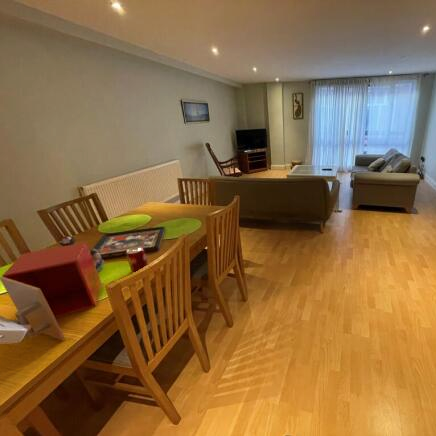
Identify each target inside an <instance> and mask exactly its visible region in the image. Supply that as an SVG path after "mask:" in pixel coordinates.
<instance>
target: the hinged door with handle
mask: <svg viewBox="0 0 436 436" xmlns="http://www.w3.org/2000/svg"><path fill="white" fill-rule="evenodd" d="M0 282H1V284H2V285H3V287H4V289H5V291H6V293H7V295H8V296H9V298H10V300H11V301H12V303H13V305H14V307H15V308H16V310H17V311H16V312H15V313H14V315H15V317H16V318H17V321H19V322H20V324H21V325H22V324H30V325H31V328H30V330H29V331H27V332H26V334H25V335H26V336H27V338H28V339H29V340H31V339H34V338H36V337H37V336H39V335H41V334H44V335H46V336H49V337H52V338H54V339H57V340H59V341H61V342H64V341H66V337H65V335H64V333H63V331H62V329H61V327H60V325H59V323H58V321H57V319H56V317H54V315H53V313H52V311H51V309H50V307H49V305H48V303H47V301H46V299H45V297H44V295H43V293H42V291H41V289H40V288H36V287H33V286H30V285H27V284H24V283H21V282H18V281H15V280H11V279H8V278H5V277H2V276H1V277H0Z"/></svg>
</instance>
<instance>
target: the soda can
mask: <svg viewBox="0 0 436 436" xmlns="http://www.w3.org/2000/svg"><path fill="white" fill-rule="evenodd" d="M125 256H126V258H127V262H128V265H129V268H130V272H131V274H132V273H133V272H136V271H138V270H139V269H141V268H143V267H144V266H146V265H148V266H149V263H148V259H147V256H146V252H144V249H143V248H142V247H133V248H130V249H128V250H127V251H126V255H125Z"/></svg>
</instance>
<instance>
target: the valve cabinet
mask: <svg viewBox="0 0 436 436" xmlns="http://www.w3.org/2000/svg"><path fill="white" fill-rule="evenodd" d="M1 277H5V278H8V279H11V280H15V281H18V282H21V283H24V284H27V285H30V286H33V287H36V288H40V289H41V291H42V293H43V295H44V297H45V299H46V301H47V303H48V305H49V307H50V309H51V311H52V313H53V315H54V317H55V318H58V317H61V316H65V315H68V314H73V313H76V312H80V311H83V310H86V309H90V308H93V307H96V306H97V303H98V299H99V295H100V292H101V289H102V286H103V283H102V280H101V278H100V275H99V271H98V272H97V269H96V267H95V264H94V261H93V259H92V256H91V253H90V248H89V245H88V243H87V242H86V241H84V242H78V243H75V244H74V245H68V246H58V247H52V248H48V249H42V250H37V251H31V252H25V253H22V254H21V255H20V256H19V257H18V258H17V259H16V260H15V261H14V262H13V263H12V264H11V265H10V266H9V267H8V269H6V270H5V272H4V273H3V274H2V275H1Z"/></svg>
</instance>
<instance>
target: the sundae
mask: <svg viewBox="0 0 436 436" xmlns="http://www.w3.org/2000/svg"><path fill="white" fill-rule="evenodd" d="M58 235H59V236H60V235H61V237H60V238H61V239H60V241H59V243H58V245H60V246H61V247H63V246H68V245H74V244H76V240H77V239H76V238H74V237H70V236H66V235H63V234H62V233H58Z"/></svg>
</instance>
